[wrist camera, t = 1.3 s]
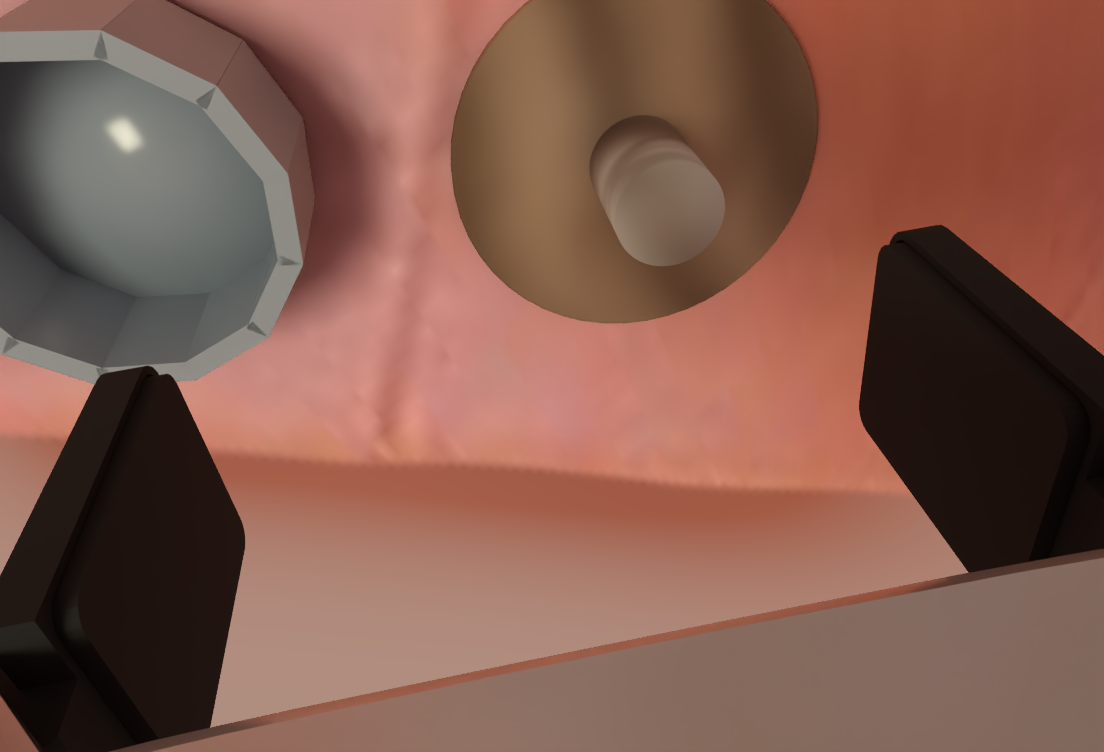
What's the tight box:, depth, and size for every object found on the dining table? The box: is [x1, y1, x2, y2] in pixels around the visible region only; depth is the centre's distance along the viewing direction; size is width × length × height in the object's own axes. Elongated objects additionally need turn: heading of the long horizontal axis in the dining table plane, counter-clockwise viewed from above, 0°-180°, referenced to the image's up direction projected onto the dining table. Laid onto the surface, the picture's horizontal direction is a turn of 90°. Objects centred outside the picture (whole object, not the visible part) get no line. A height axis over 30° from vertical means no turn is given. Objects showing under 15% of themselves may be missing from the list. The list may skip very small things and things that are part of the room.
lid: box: [451, 0, 817, 323], centre depth 33 cm, size 15×15×6 cm
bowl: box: [0, 0, 315, 384], centre depth 29 cm, size 12×12×6 cm
